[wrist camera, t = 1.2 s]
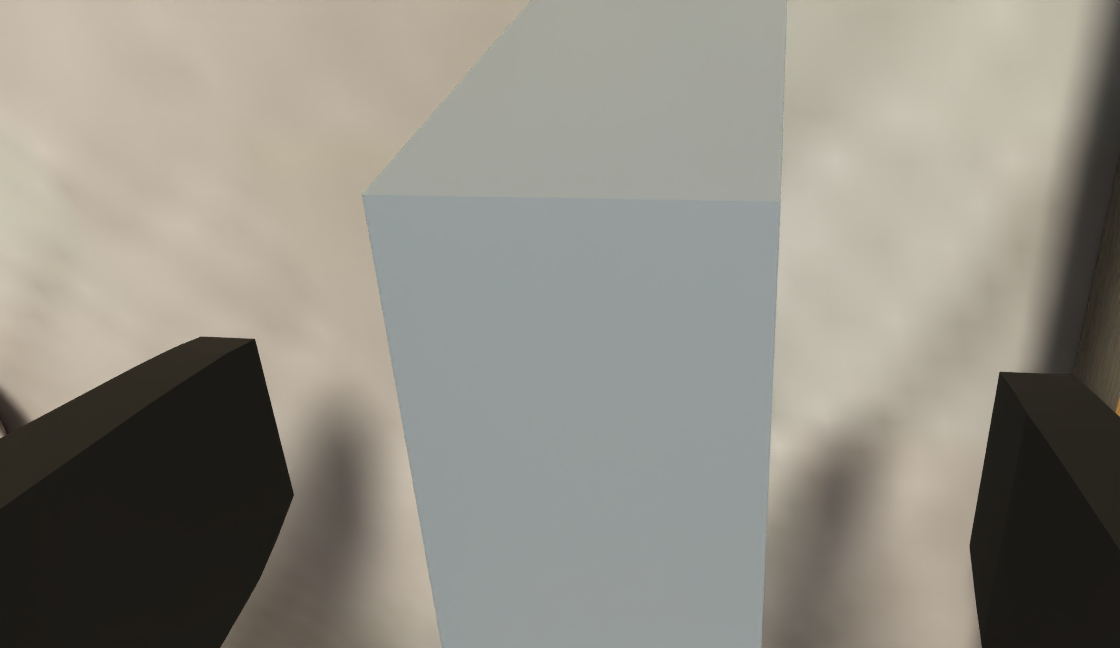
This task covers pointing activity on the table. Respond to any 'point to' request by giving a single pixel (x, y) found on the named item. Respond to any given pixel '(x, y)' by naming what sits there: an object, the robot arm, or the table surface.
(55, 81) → the table surface
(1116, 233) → the rack
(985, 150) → the table surface
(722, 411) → the block
